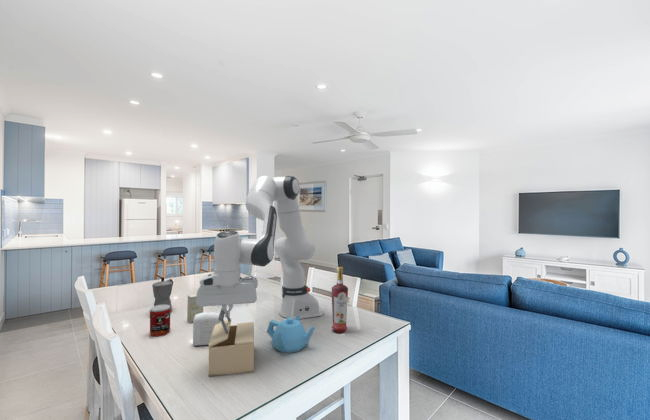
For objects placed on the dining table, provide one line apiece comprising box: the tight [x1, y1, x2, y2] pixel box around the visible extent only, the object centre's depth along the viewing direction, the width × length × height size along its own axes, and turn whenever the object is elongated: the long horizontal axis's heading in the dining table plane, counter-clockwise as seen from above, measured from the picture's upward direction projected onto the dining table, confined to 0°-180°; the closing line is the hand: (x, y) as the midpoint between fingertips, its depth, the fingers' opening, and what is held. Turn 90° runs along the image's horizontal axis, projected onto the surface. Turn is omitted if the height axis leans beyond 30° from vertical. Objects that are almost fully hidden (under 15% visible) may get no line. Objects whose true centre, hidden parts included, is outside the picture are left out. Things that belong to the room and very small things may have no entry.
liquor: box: [331, 266, 349, 334], centre depth 133 cm, size 7×7×28 cm
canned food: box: [149, 305, 171, 337], centre depth 129 cm, size 8×8×11 cm
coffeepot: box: [151, 277, 174, 314], centre depth 154 cm, size 15×9×18 cm, turn 176°
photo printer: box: [192, 311, 221, 347], centre depth 119 cm, size 10×4×12 cm, turn 103°
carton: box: [208, 321, 255, 377], centre depth 106 cm, size 14×18×10 cm
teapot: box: [266, 316, 316, 354], centre depth 118 cm, size 15×15×11 cm
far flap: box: [208, 305, 232, 348], centre depth 105 cm, size 7×17×7 cm, turn 13°
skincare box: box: [186, 293, 204, 324], centre depth 143 cm, size 6×4×12 cm
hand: (227, 316), depth 105 cm, fingers closed
